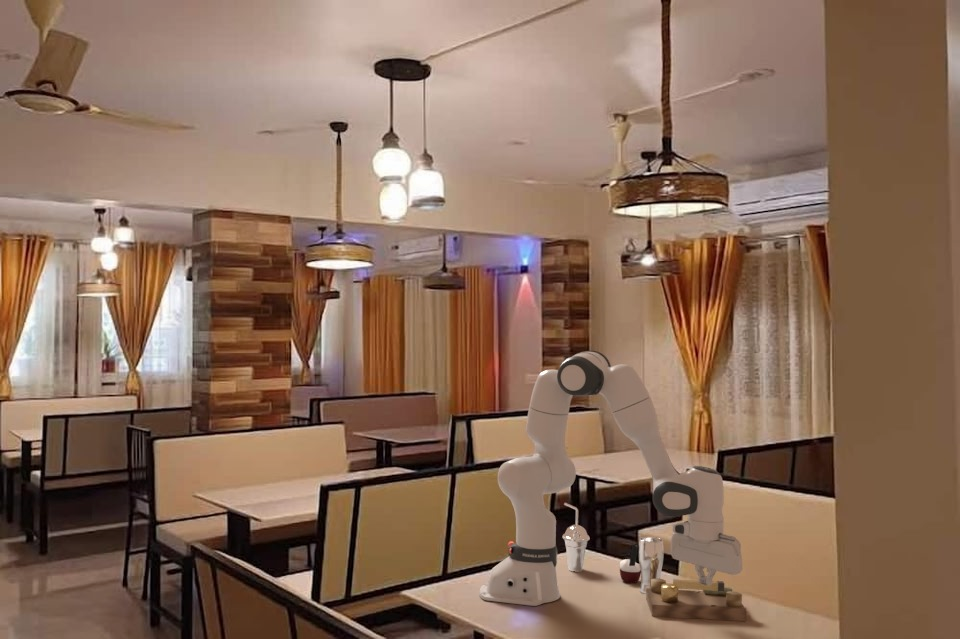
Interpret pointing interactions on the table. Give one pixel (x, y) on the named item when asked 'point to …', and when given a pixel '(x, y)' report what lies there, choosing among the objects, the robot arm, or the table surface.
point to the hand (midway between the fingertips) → (705, 584)
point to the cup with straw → (575, 544)
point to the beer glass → (650, 560)
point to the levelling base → (697, 603)
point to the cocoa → (630, 567)
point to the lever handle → (671, 590)
